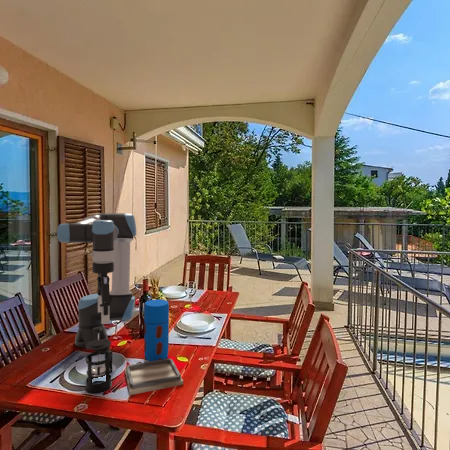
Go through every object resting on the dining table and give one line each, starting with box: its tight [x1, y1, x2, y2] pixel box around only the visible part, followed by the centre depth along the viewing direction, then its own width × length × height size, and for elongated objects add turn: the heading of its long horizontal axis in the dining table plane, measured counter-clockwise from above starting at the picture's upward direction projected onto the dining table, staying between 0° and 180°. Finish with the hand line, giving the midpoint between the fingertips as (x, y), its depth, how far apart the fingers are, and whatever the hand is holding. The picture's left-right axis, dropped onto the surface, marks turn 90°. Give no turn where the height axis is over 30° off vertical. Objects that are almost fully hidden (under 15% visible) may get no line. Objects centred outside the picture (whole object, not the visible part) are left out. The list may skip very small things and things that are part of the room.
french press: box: [84, 326, 113, 395], centre depth 126 cm, size 12×9×23 cm
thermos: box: [143, 298, 170, 362], centre depth 152 cm, size 11×11×25 cm
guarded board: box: [124, 357, 184, 396], centre depth 134 cm, size 18×20×3 cm
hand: (103, 317), depth 126 cm, fingers open, 13 cm apart
